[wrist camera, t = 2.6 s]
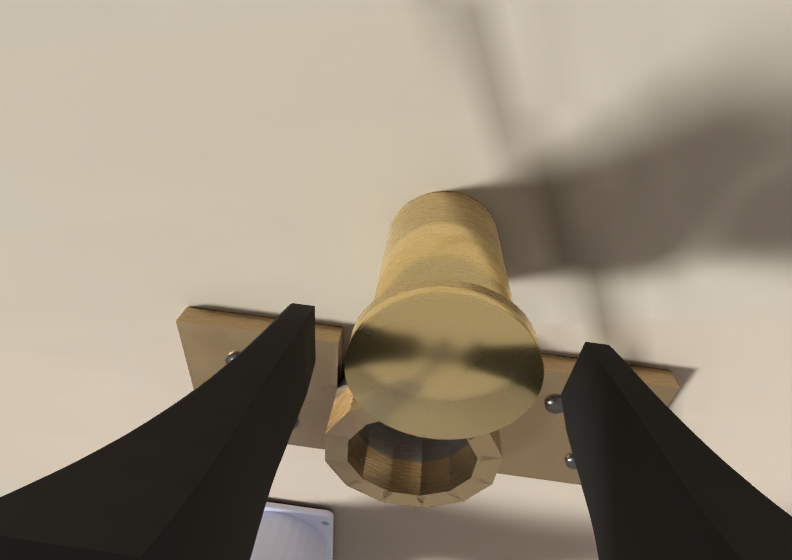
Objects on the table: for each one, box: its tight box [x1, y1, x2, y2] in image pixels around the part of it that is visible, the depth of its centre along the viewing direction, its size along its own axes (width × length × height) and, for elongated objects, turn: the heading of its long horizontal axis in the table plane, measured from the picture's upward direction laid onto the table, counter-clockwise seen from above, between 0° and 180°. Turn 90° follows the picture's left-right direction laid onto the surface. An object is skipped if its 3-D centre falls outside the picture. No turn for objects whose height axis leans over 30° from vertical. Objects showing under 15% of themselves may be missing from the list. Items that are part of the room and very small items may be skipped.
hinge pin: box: [344, 192, 544, 440], centre depth 14 cm, size 5×5×7 cm
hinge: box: [176, 307, 680, 507], centre depth 20 cm, size 8×22×4 cm, turn 85°
